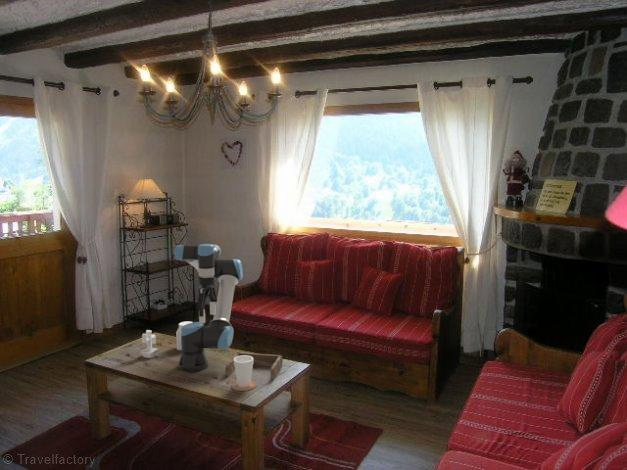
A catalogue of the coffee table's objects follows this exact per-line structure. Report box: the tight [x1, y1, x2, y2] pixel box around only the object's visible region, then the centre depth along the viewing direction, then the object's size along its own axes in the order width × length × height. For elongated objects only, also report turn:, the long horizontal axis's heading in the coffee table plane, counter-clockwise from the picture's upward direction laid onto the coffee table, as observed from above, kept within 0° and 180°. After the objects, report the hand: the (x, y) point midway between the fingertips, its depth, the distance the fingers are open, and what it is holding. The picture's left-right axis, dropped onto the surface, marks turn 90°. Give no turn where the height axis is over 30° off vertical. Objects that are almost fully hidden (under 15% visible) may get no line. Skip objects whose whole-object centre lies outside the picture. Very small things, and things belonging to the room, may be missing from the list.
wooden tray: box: [225, 351, 283, 381], centre depth 263 cm, size 18×25×6 cm
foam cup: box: [234, 355, 254, 387], centre depth 245 cm, size 10×9×13 cm
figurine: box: [140, 329, 160, 359], centre depth 282 cm, size 7×9×15 cm
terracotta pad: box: [231, 379, 257, 392], centre depth 246 cm, size 12×12×1 cm
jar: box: [175, 321, 193, 351], centre depth 295 cm, size 12×10×15 cm
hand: (207, 318), depth 248 cm, fingers open, 13 cm apart
